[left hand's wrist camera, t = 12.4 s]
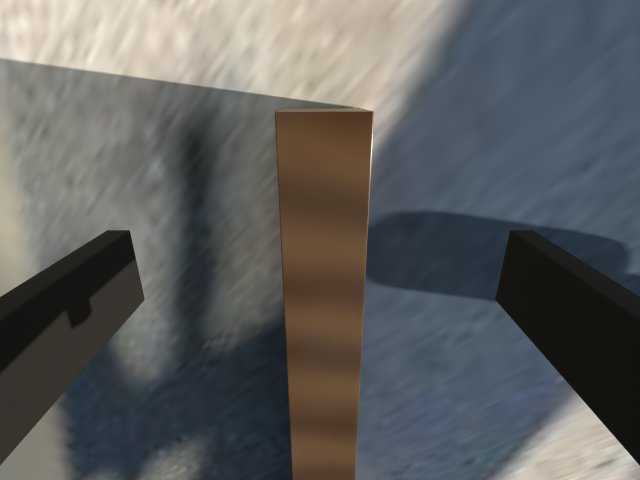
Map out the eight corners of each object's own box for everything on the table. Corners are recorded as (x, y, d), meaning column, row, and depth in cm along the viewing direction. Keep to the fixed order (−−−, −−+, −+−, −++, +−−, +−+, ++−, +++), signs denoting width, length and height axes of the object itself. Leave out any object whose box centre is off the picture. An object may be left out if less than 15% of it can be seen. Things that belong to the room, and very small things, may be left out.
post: (287, 108, 27) (274, 111, 20) (359, 107, 27) (373, 111, 20) (304, 607, 54) (302, 687, 47) (341, 607, 54) (344, 687, 47)
